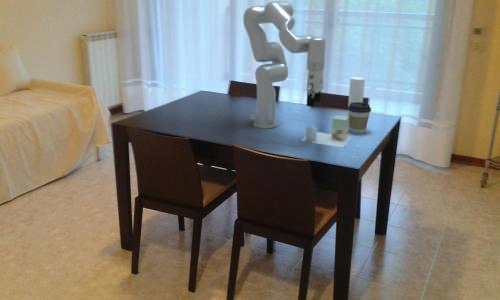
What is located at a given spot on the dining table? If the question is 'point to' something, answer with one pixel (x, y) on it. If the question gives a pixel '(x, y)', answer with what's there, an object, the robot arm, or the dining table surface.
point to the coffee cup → (358, 116)
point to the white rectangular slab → (328, 140)
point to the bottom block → (339, 134)
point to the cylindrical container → (356, 91)
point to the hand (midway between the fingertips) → (313, 103)
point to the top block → (340, 123)
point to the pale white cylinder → (311, 133)
